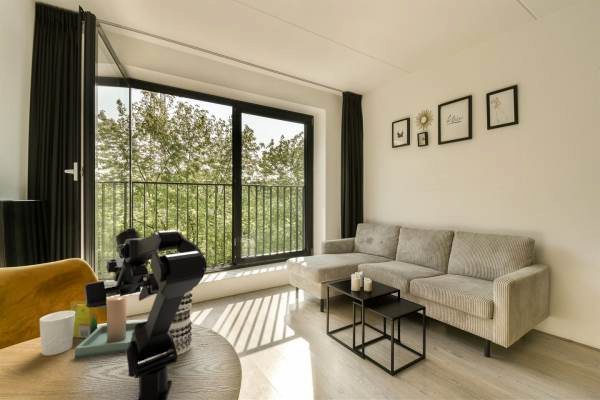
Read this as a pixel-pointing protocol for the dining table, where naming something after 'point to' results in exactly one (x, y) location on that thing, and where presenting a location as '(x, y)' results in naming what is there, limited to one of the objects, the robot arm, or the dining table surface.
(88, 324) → the crayon box
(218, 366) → the dining table surface
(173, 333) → the decorative candle
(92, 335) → the tray
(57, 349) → the white cup
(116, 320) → the peach rounded cone
